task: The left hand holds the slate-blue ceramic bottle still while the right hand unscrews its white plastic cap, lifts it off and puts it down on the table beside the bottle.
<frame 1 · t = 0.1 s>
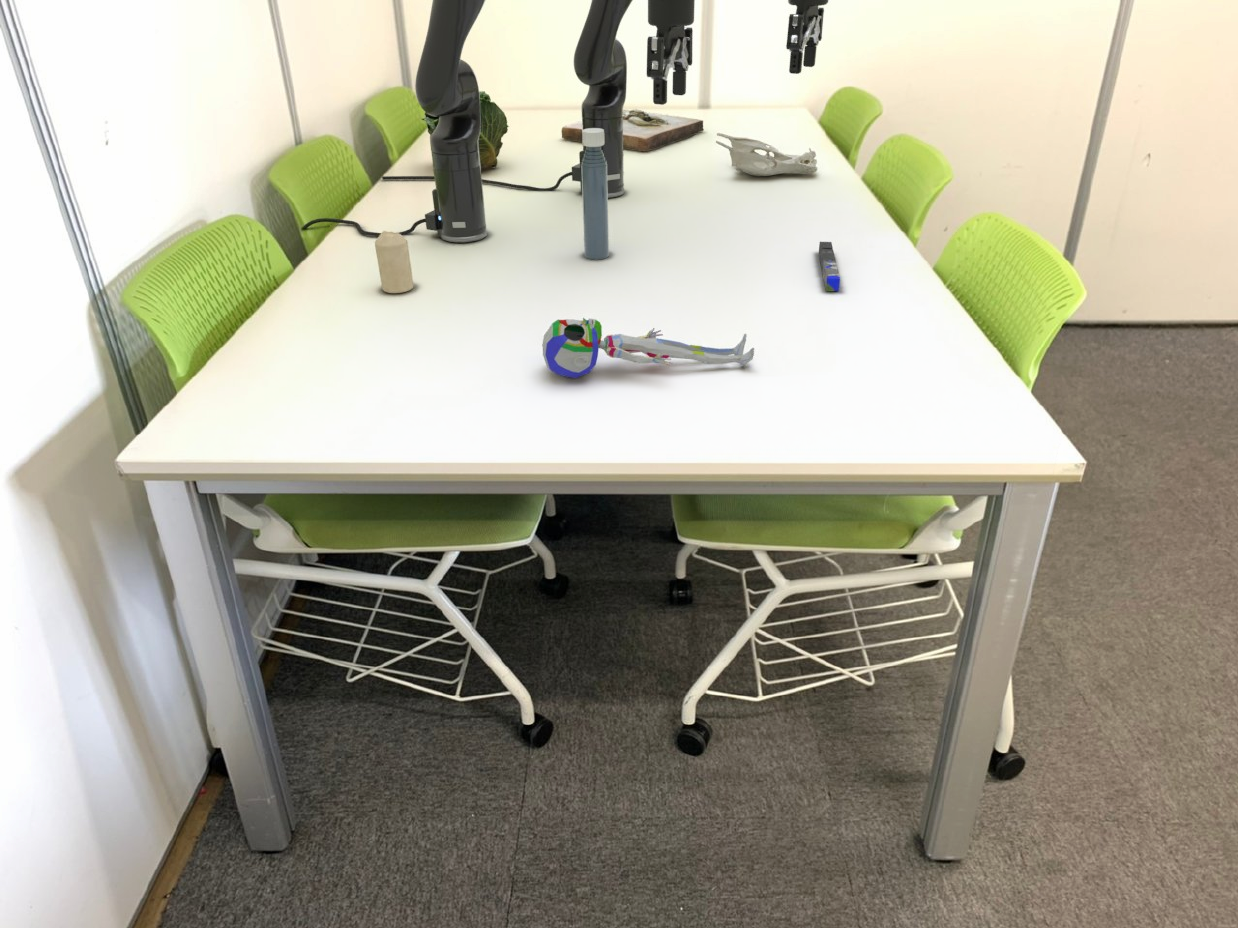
left hand: (669, 99, 152), 29 cm above the table, tool pointing down, fingers open, 8 cm apart
right hand: (802, 70, 176), 29 cm above the table, tool pointing down, fingers open, 8 cm apart
bottle: (596, 255, 173), on the table
plaque: (633, 136, 259), on the table
cap: (593, 132, 161), point 23 cm above the table, screwed on, not yet turned
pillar: (828, 272, 163), on the table
vegetable: (469, 169, 230), on the table
toy: (647, 368, 131), on the table
candle: (398, 288, 160), on the table
anatomical model: (765, 174, 222), on the table
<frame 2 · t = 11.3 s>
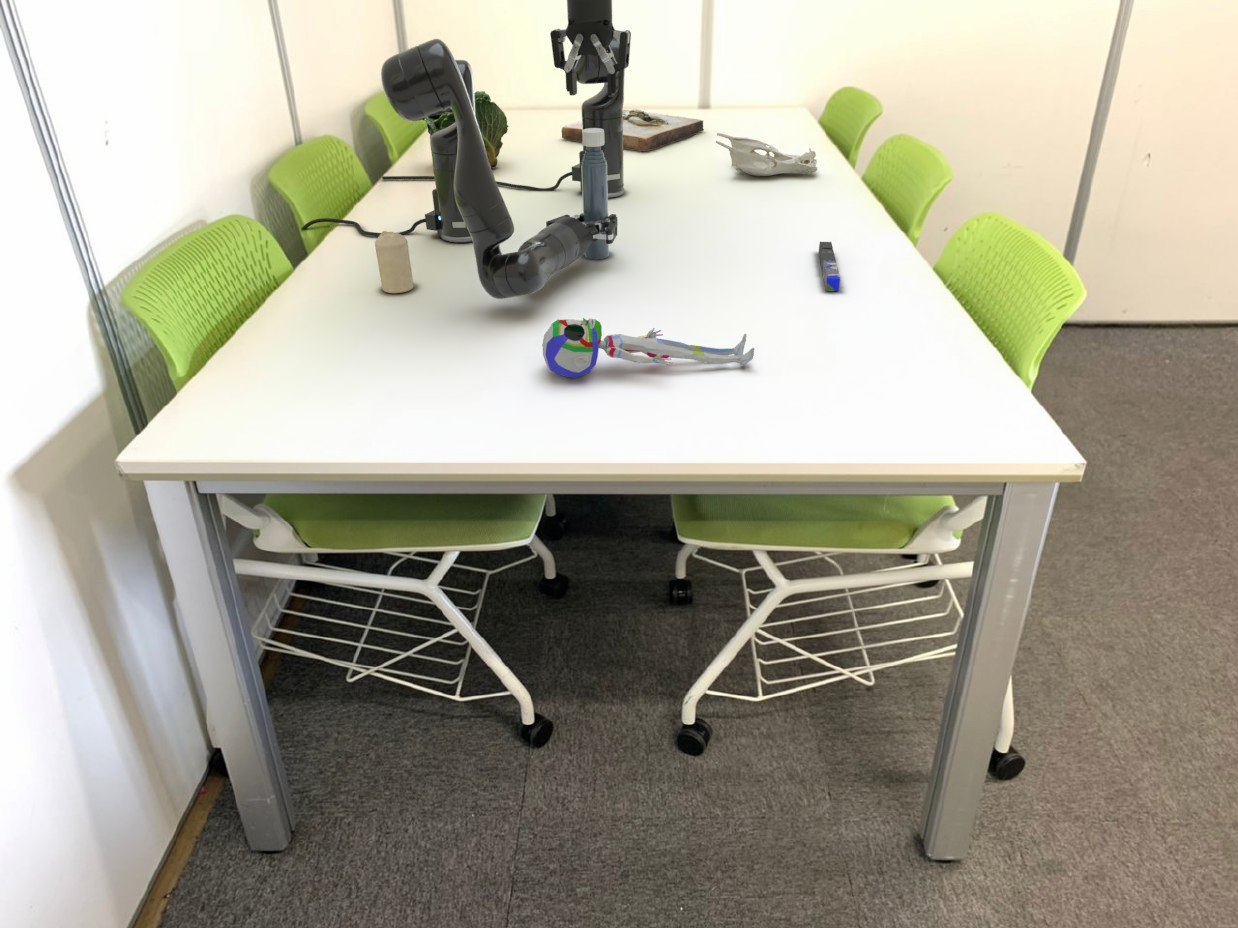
left hand: (601, 217, 171), 7 cm above the table, tool horizontal, fingers closed on bottle, 4 cm apart
right hand: (592, 95, 157), 29 cm above the table, tool pointing down, fingers open, 6 cm apart
bottle: (596, 255, 173), on the table, touching left hand
everything else where it was.
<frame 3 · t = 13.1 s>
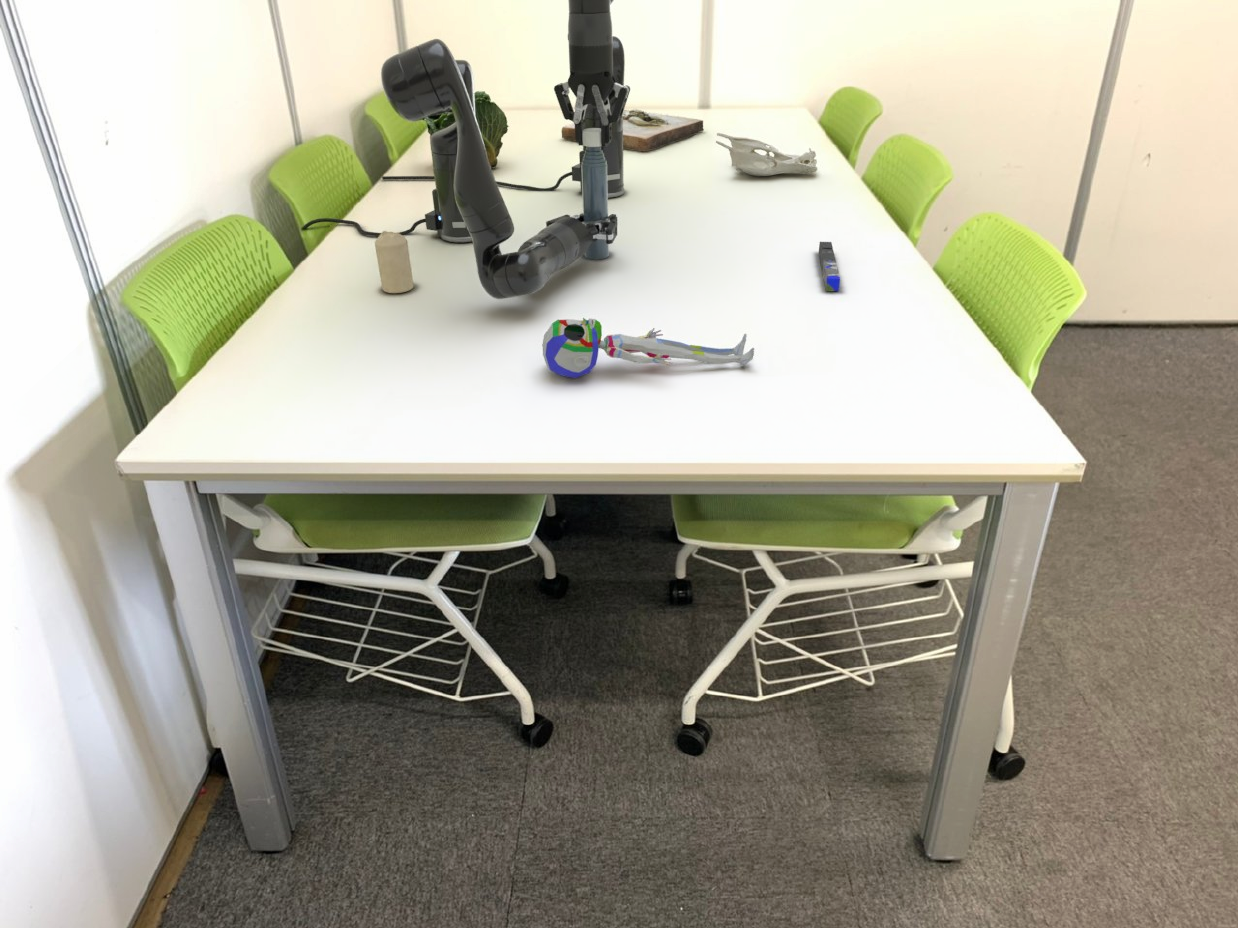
left hand: (601, 217, 171), 7 cm above the table, tool horizontal, fingers closed on bottle, 4 cm apart
right hand: (593, 144, 162), 21 cm above the table, tool pointing down, fingers closed on cap, 3 cm apart
bottle: (596, 255, 173), on the table, touching left hand
cap: (593, 132, 161), point 23 cm above the table, screwed on, not yet turned, touching right hand
everything else where it was.
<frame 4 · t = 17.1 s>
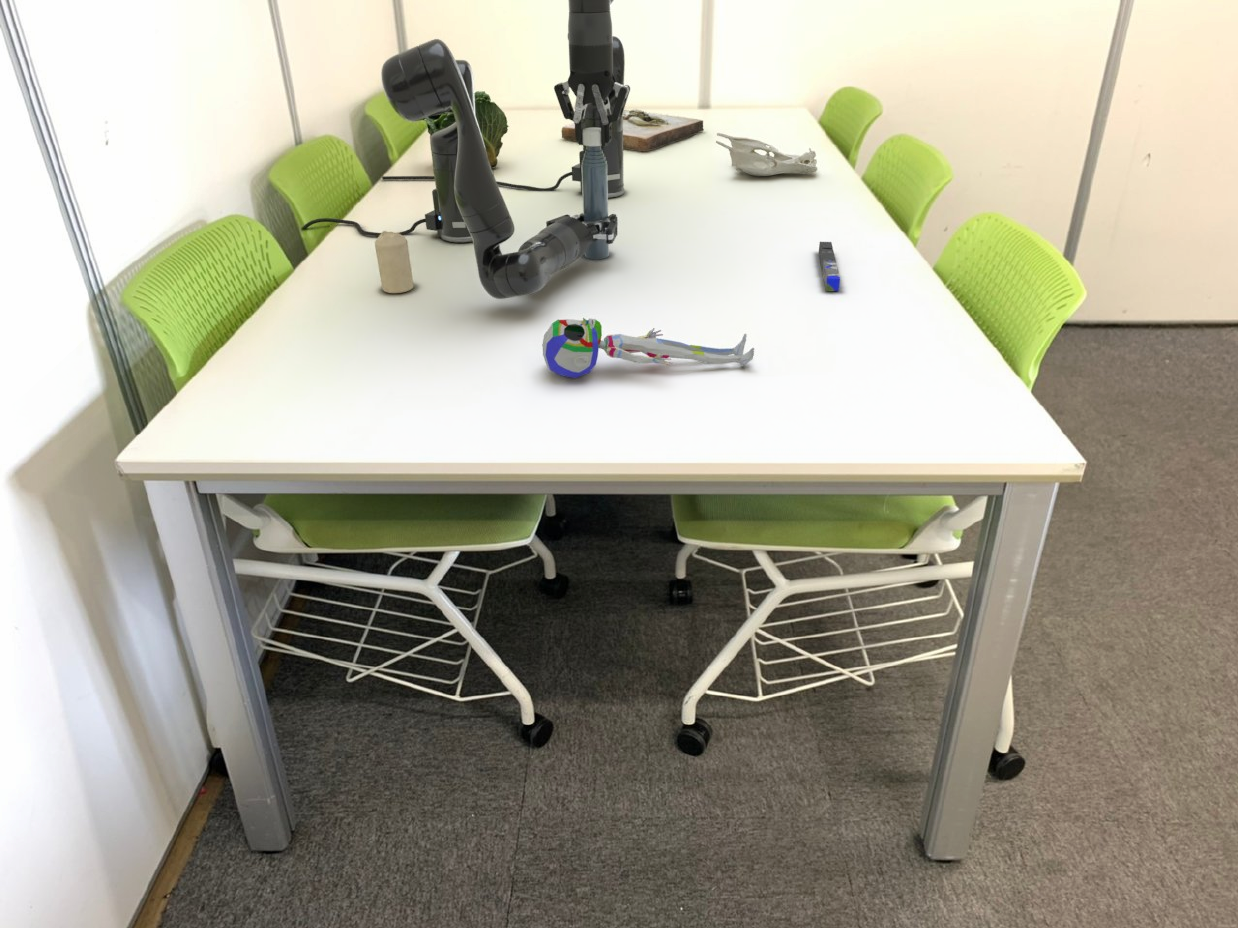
left hand: (601, 217, 172), 7 cm above the table, tool horizontal, fingers closed on bottle, 4 cm apart
right hand: (593, 144, 162), 21 cm above the table, tool pointing down, fingers closed on cap, 3 cm apart
bottle: (596, 255, 173), on the table, touching left hand
cap: (593, 131, 161), point 23 cm above the table, turned 90° so far, risen 0.1 cm, still on its thread, touching right hand
everything else where it was.
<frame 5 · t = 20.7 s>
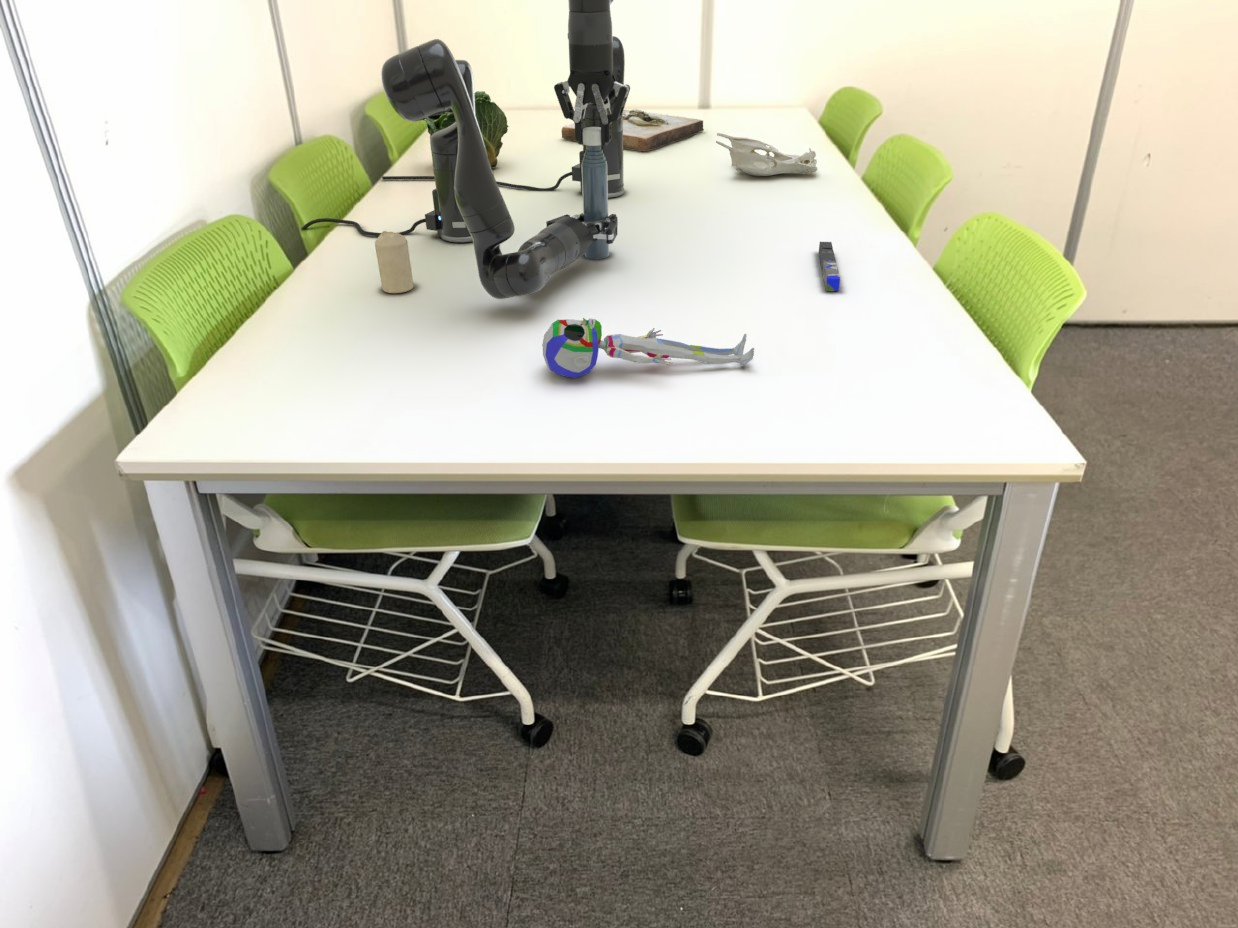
left hand: (601, 217, 172), 7 cm above the table, tool horizontal, fingers closed on bottle, 4 cm apart
right hand: (593, 143, 162), 21 cm above the table, tool pointing down, fingers closed on cap, 3 cm apart
bottle: (596, 255, 173), on the table, touching left hand
cap: (593, 131, 161), point 23 cm above the table, turned 179° so far, risen 0.2 cm, still on its thread, touching right hand
everything else where it was.
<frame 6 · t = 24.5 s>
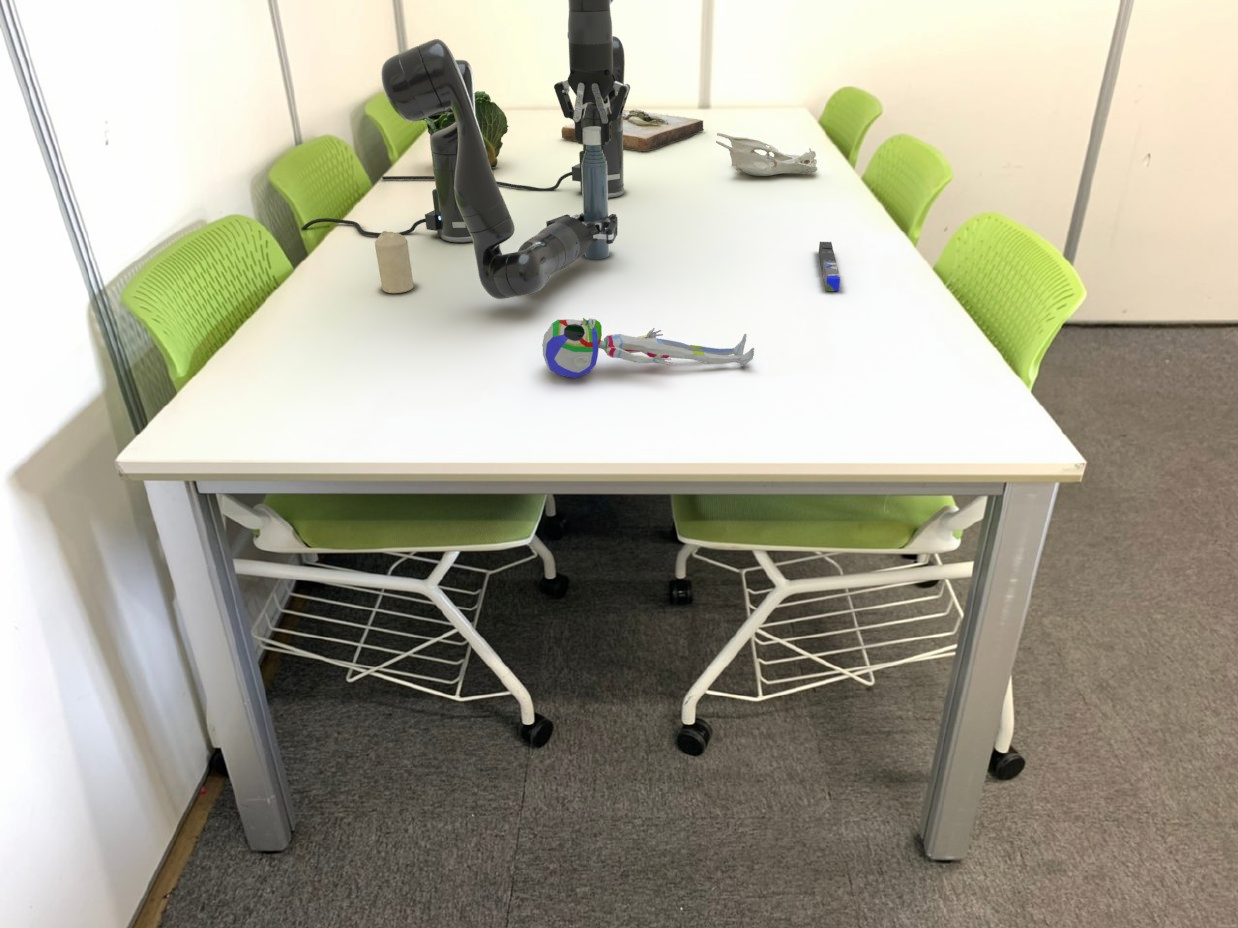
left hand: (601, 217, 172), 7 cm above the table, tool horizontal, fingers closed on bottle, 4 cm apart
right hand: (593, 143, 162), 21 cm above the table, tool pointing down, fingers closed on cap, 3 cm apart
bottle: (596, 255, 173), on the table, touching left hand
cap: (593, 130, 161), point 23 cm above the table, turned 269° so far, risen 0.3 cm, still on its thread, touching right hand
everything else where it was.
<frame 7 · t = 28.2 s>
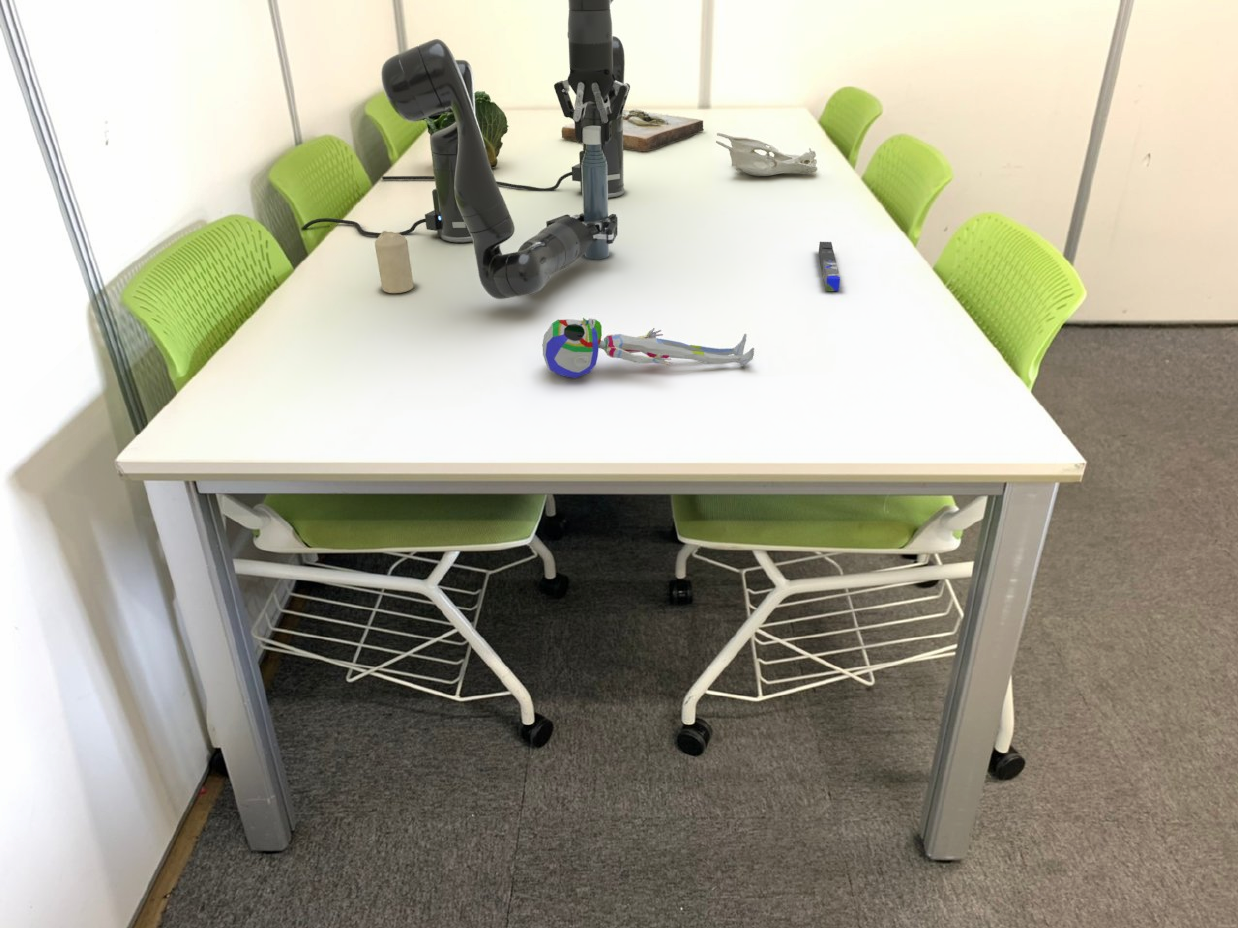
left hand: (601, 217, 172), 7 cm above the table, tool horizontal, fingers closed on bottle, 4 cm apart
right hand: (593, 142, 162), 21 cm above the table, tool pointing down, fingers closed on cap, 3 cm apart
bottle: (596, 255, 173), on the table, touching left hand
cap: (593, 130, 161), point 23 cm above the table, turned 358° so far, risen 0.4 cm, still on its thread, touching right hand
everything else where it was.
when the right hand's fingers open (1 cm above the table, at t = 36.1 s): cap stays where it is, point 2 cm above the table.
when the left hand's fingers open (7 cm above the table, at t = 37.2 s): bottle stays where it is, on the table.
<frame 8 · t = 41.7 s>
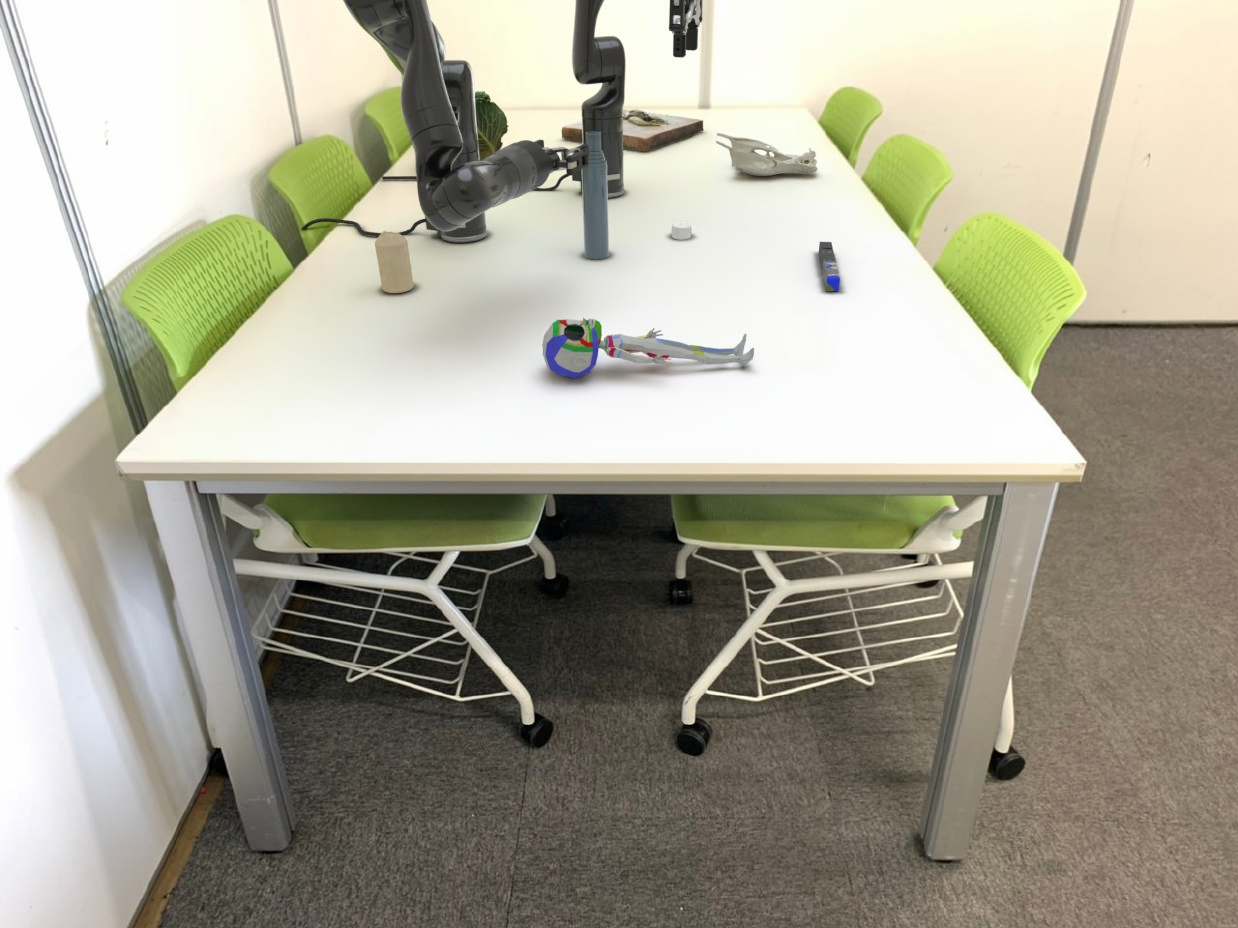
left hand: (564, 148, 152), 22 cm above the table, tool horizontal, fingers open, 8 cm apart
right hand: (685, 53, 164), 34 cm above the table, tool pointing down, fingers open, 8 cm apart
bottle: (596, 255, 173), on the table
cap: (681, 226, 181), point 2 cm above the table, off its thread
everything else where it was.
at the end: cap came off its thread; cap point 2.1 cm above the table; the left hand is holding nothing; the right hand is holding nothing; bottle tilted 0°; bottle moved 0.0 cm from its start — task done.
